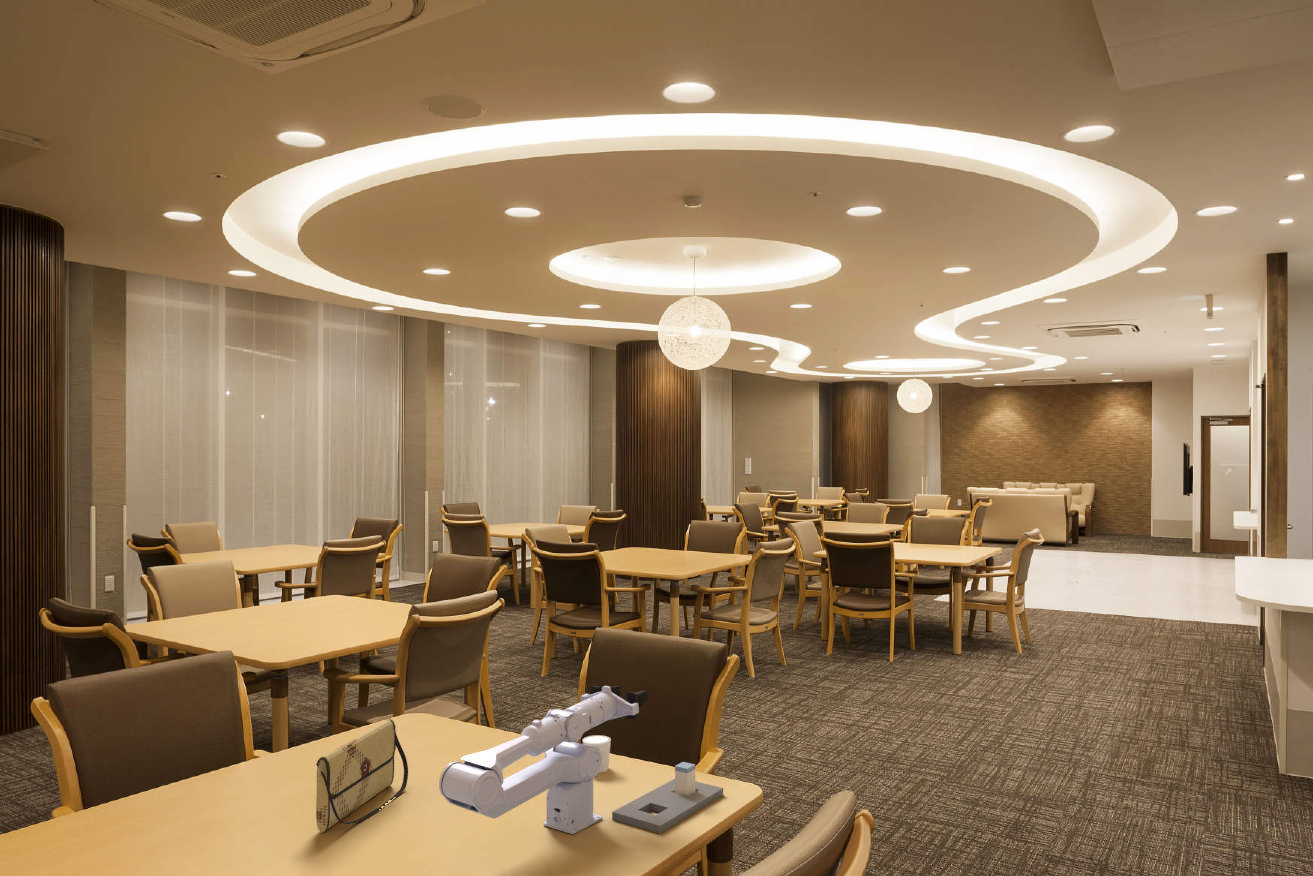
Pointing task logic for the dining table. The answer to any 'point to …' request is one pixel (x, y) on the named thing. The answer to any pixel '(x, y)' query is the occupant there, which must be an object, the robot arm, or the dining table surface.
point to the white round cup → (600, 748)
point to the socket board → (666, 806)
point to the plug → (685, 779)
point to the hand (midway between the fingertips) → (632, 693)
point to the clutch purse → (357, 774)
